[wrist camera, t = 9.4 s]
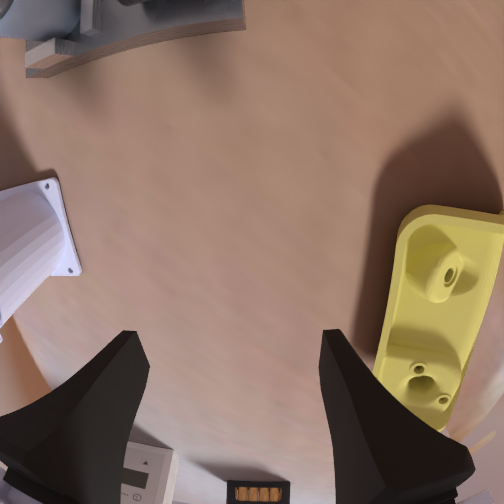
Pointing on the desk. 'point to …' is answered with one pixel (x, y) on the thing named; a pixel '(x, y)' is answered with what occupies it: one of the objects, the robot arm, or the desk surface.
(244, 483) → the ammunition clip
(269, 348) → the desk surface
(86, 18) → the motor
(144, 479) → the thermostat
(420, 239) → the plastic component
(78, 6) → the grey capped cylinder
